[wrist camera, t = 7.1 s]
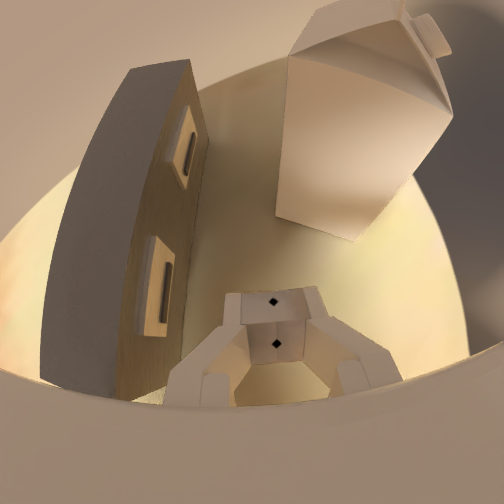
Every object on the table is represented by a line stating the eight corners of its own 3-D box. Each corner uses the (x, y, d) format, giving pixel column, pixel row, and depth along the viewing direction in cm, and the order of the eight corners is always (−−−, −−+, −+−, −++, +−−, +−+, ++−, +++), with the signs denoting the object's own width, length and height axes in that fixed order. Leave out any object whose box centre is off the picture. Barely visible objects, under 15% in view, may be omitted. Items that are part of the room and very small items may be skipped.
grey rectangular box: (185, 380, 19) (124, 409, 9) (122, 368, 19) (39, 378, 9) (213, 139, 25) (195, 58, 16) (162, 142, 26) (130, 69, 16)
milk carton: (273, 217, 22) (291, -34, 4) (295, 154, 24) (321, -45, 6) (354, 243, 22) (498, 48, 3) (366, 177, 24) (451, 0, 5)
